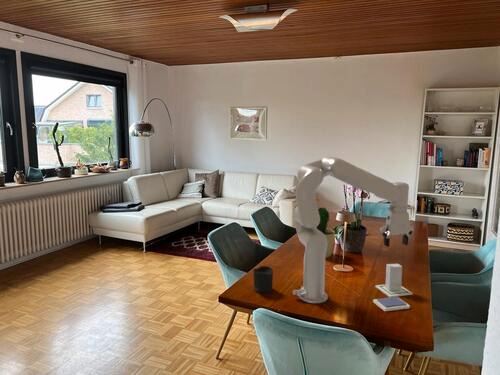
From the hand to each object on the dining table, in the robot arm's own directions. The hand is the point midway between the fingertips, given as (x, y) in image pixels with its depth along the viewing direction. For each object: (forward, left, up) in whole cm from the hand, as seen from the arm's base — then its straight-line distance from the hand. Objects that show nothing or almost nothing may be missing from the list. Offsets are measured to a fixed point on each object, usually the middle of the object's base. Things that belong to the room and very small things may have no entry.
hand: (395, 245), depth 176 cm
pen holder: (-60, +16, -23) cm, 66 cm away
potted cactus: (-12, +56, -23) cm, 62 cm away
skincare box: (0, 0, -22) cm, 22 cm away
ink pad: (-10, -13, -22) cm, 28 cm away
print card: (0, 0, -22) cm, 22 cm away
